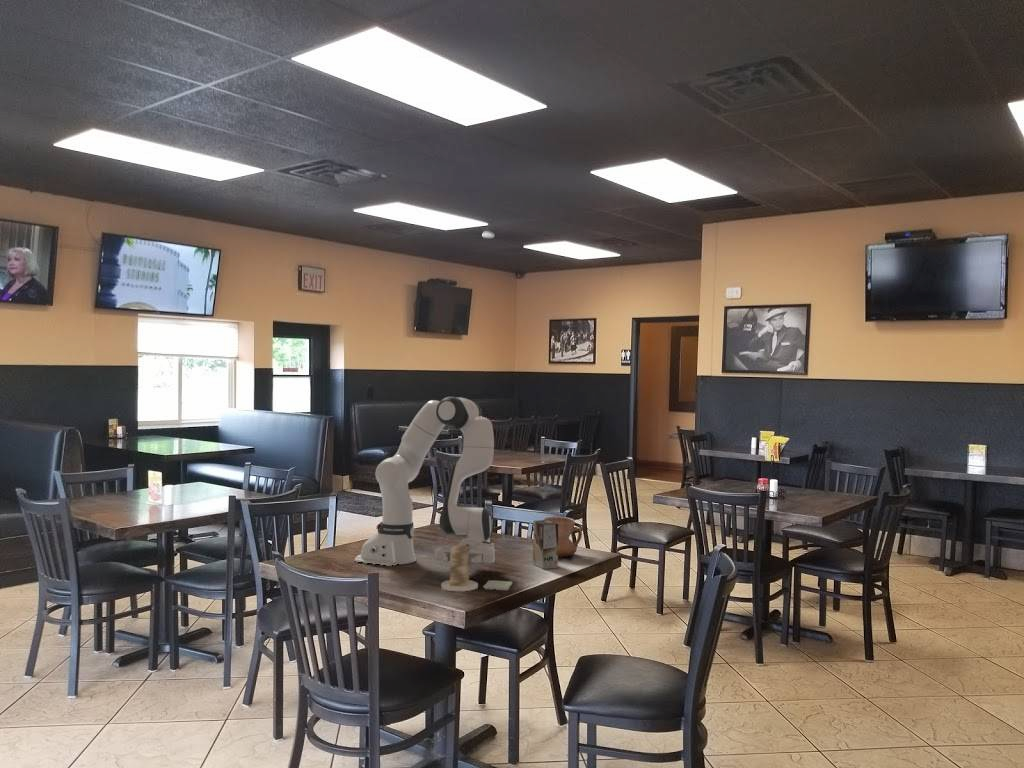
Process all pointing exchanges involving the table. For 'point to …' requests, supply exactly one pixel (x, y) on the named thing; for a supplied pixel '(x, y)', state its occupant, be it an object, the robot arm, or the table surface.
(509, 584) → the sage coaster
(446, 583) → the cream saucer
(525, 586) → the table surface
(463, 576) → the maple block
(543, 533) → the coffee box
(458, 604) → the table surface
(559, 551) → the ceramic jug
